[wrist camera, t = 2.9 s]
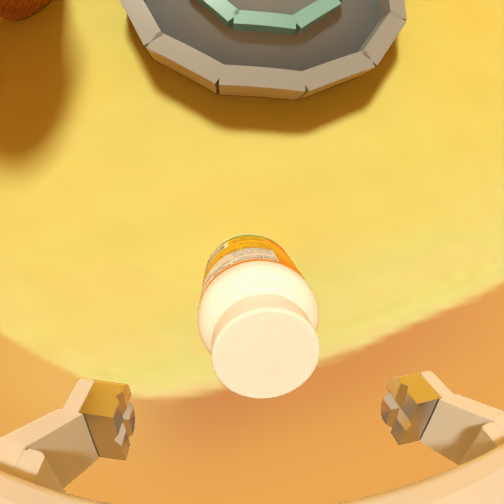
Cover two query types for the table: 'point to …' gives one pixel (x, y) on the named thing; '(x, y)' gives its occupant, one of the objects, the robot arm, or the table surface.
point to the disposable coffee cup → (20, 8)
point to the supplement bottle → (258, 318)
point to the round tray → (267, 41)
